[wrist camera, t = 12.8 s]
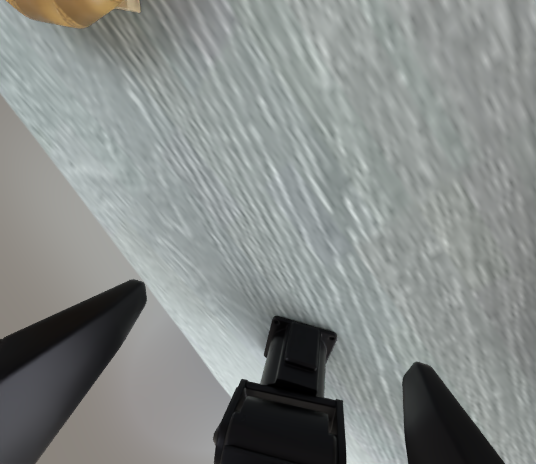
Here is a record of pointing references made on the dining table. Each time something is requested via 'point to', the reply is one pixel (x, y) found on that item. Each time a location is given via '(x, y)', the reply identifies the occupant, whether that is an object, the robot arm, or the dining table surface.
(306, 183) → the dining table surface
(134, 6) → the stand
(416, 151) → the dining table surface
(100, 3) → the ring
